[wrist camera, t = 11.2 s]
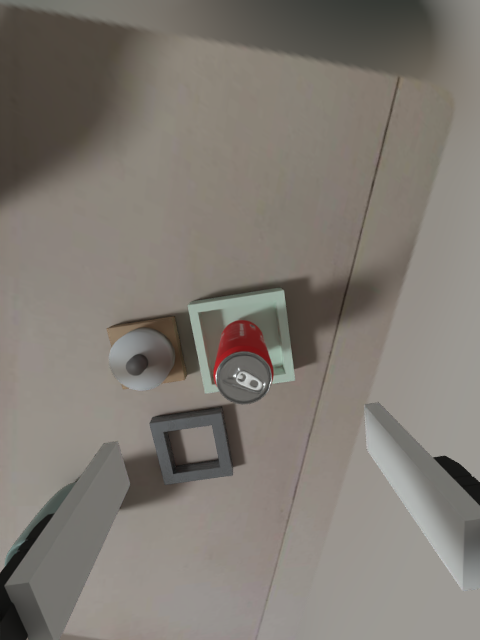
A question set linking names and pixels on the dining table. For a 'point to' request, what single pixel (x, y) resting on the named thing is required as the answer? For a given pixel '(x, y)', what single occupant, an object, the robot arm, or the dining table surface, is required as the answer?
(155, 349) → the service bell
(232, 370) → the beverage can
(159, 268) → the dining table surface
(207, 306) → the tray
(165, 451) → the frame
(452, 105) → the dining table surface
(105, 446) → the robot arm
